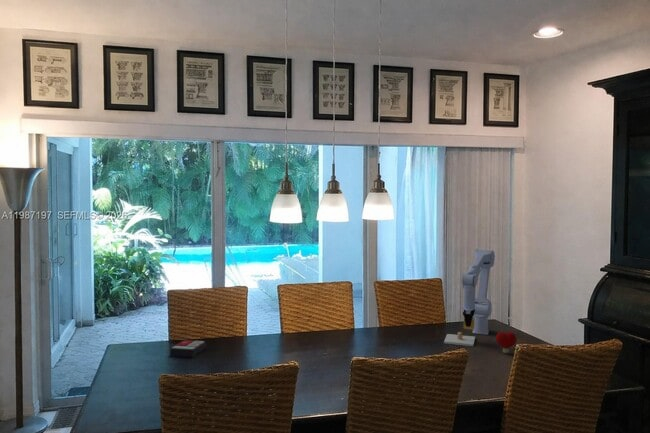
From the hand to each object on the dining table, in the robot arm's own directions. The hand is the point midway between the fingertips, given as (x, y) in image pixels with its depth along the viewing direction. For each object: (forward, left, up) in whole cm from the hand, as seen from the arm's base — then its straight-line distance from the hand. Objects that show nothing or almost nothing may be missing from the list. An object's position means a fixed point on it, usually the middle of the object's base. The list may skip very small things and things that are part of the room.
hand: (468, 325), depth 267 cm
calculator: (+63, -121, -9) cm, 137 cm away
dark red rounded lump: (+13, +18, -9) cm, 24 cm away
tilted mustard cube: (0, 0, -2) cm, 2 cm away
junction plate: (0, -4, -8) cm, 9 cm away
